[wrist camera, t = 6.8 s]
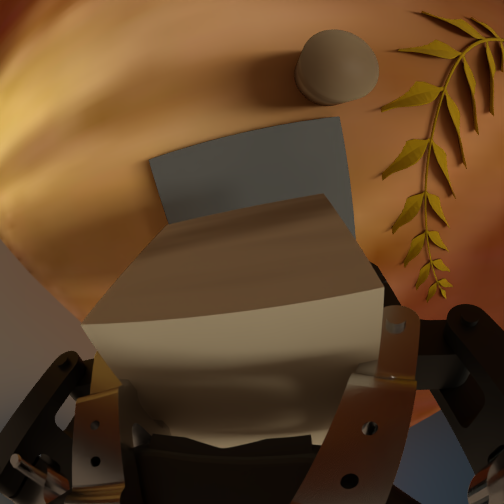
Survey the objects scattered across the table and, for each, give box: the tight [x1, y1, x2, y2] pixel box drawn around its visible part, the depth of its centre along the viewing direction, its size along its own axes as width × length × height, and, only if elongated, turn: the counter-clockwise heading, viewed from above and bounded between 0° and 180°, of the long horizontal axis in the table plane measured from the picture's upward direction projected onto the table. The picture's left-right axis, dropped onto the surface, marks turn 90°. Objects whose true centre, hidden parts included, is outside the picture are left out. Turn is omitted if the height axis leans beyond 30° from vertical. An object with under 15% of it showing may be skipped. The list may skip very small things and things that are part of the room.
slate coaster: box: [149, 117, 356, 240], centre depth 17 cm, size 11×11×1 cm
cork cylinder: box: [294, 30, 379, 106], centre depth 11 cm, size 4×4×4 cm
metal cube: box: [81, 193, 384, 448], centre depth 8 cm, size 6×6×6 cm
